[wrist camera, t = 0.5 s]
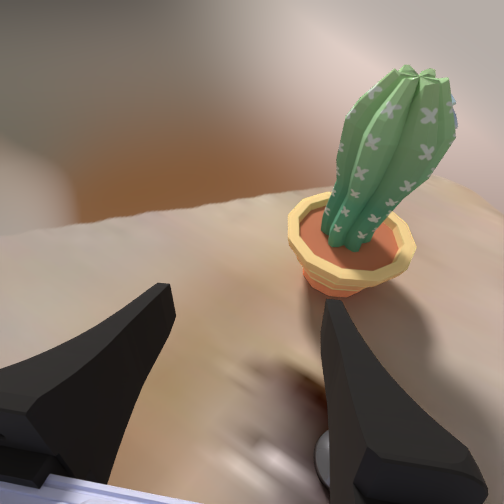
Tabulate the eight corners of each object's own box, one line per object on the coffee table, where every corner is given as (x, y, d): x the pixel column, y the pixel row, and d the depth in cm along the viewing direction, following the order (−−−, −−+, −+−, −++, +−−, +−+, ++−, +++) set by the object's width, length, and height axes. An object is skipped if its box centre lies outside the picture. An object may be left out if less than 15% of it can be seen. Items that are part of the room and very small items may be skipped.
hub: (376, 496, 25) (381, 496, 24) (318, 498, 25) (321, 497, 24) (360, 429, 28) (364, 426, 27) (309, 430, 28) (312, 427, 27)
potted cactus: (412, 310, 37) (584, 109, 19) (296, 328, 35) (360, 121, 17) (361, 227, 47) (440, 43, 29) (268, 237, 45) (288, 45, 27)
